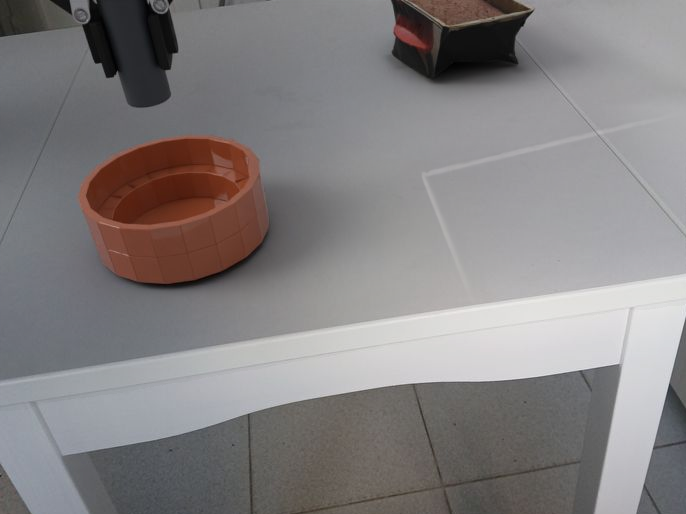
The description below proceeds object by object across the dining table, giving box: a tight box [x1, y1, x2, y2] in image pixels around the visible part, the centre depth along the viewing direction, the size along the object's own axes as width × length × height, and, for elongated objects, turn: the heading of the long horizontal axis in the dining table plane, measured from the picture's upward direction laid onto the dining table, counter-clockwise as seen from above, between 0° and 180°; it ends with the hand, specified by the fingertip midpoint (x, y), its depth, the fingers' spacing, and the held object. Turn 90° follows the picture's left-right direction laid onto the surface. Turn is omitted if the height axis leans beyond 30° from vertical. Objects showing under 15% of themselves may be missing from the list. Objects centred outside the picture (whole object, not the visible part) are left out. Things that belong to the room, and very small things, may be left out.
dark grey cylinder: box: [95, 0, 172, 109], centre depth 54 cm, size 4×4×8 cm
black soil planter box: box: [390, 0, 535, 80], centre depth 87 cm, size 14×18×10 cm
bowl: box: [77, 134, 270, 285], centre depth 64 cm, size 15×15×6 cm
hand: (139, 64), depth 55 cm, fingers closed on dark grey cylinder, 3 cm apart
